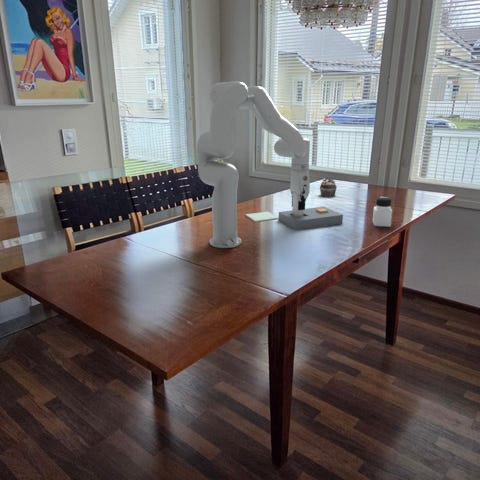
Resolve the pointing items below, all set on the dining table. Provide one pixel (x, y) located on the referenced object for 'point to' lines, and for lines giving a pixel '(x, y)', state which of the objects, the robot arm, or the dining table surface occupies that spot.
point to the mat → (262, 216)
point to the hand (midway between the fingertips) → (298, 207)
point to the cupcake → (328, 187)
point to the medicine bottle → (382, 212)
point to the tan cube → (321, 211)
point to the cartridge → (296, 206)
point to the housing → (311, 218)
